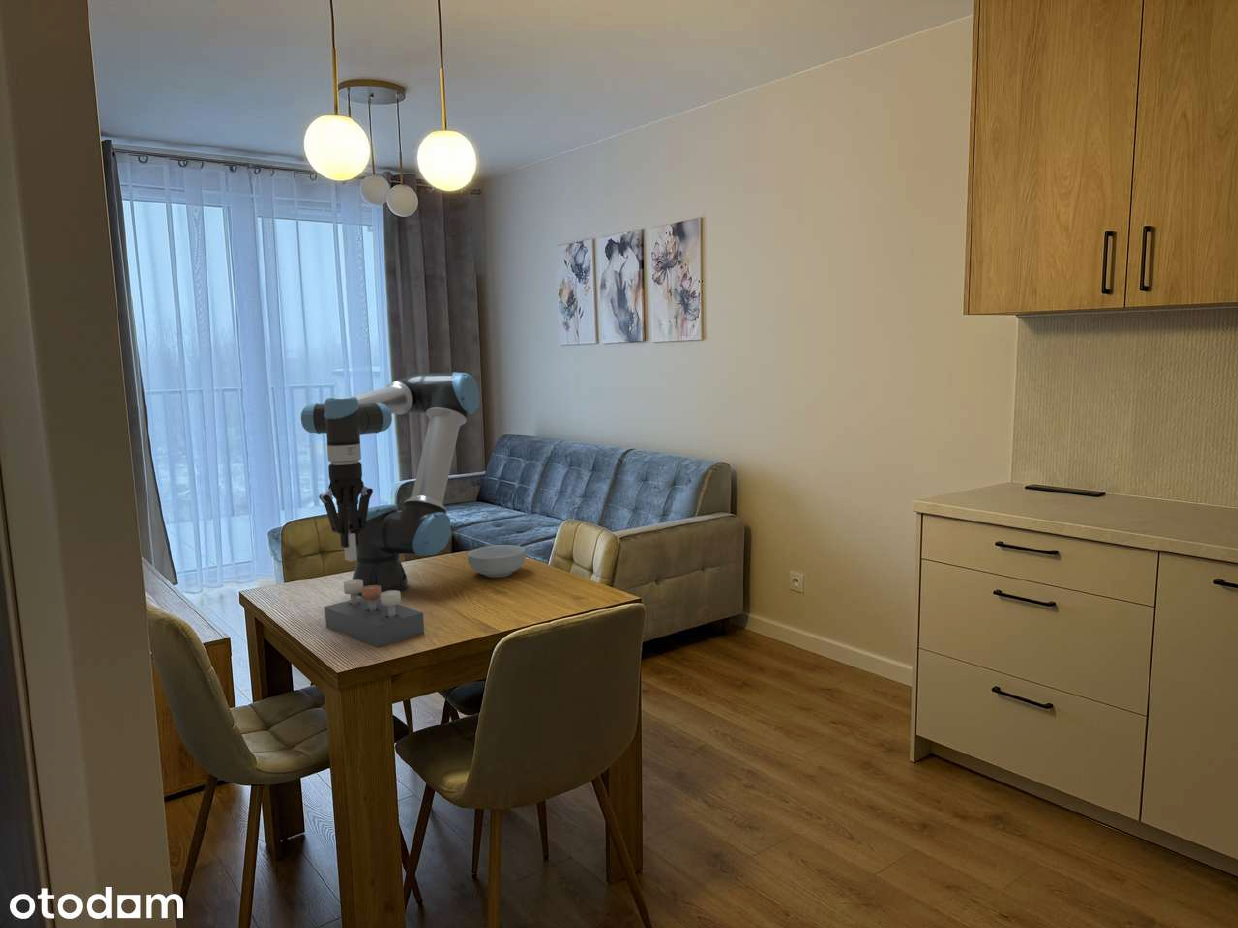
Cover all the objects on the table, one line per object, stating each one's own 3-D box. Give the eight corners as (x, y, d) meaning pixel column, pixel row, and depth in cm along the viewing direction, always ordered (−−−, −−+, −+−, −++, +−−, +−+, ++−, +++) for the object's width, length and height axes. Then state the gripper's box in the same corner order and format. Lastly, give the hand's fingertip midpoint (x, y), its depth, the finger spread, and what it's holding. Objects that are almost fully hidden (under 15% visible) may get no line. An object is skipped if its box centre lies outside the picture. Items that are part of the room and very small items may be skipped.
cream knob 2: (395, 620, 191) (393, 589, 190) (406, 623, 188) (404, 592, 187) (378, 624, 188) (376, 593, 187) (389, 628, 185) (387, 596, 184)
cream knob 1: (358, 607, 202) (356, 578, 201) (368, 610, 199) (366, 581, 198) (342, 612, 198) (340, 582, 197) (351, 615, 195) (349, 585, 194)
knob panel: (370, 614, 206) (369, 595, 205) (424, 633, 190) (422, 612, 190) (325, 627, 197) (324, 606, 196) (378, 647, 181) (377, 625, 181)
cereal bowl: (500, 564, 254) (499, 542, 253) (538, 572, 243) (537, 548, 242) (456, 576, 241) (455, 552, 240) (495, 585, 230) (494, 560, 229)
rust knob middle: (376, 613, 196) (374, 583, 195) (386, 617, 193) (384, 586, 192) (360, 618, 193) (357, 587, 192) (370, 621, 190) (368, 590, 189)
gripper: (327, 466, 186) (333, 567, 189) (377, 460, 196) (383, 557, 199) (310, 464, 191) (317, 563, 194) (360, 458, 201) (366, 553, 204)
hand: (350, 559), depth 197 cm, fingers closed
